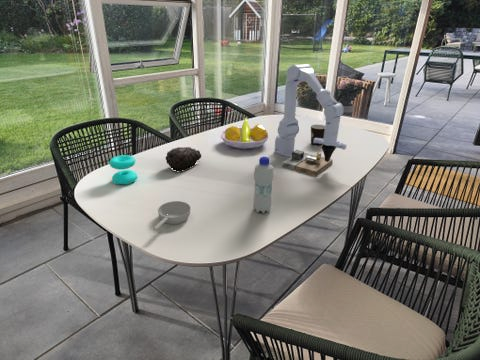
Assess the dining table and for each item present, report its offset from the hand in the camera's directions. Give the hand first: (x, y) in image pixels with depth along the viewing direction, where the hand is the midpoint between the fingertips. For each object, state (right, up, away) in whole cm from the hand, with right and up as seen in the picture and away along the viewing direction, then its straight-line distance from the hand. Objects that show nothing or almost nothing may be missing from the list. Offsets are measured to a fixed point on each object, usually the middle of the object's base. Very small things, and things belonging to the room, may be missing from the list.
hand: (327, 160), depth 146 cm
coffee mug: (+4, +12, +36) cm, 38 cm away
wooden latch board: (-7, -2, +7) cm, 10 cm away
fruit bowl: (-36, +11, +33) cm, 50 cm away
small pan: (-62, -23, -39) cm, 77 cm away
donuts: (-87, -9, -11) cm, 88 cm away
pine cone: (-65, -2, +4) cm, 65 cm away
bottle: (-32, -19, -31) cm, 48 cm away
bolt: (-5, 0, +5) cm, 7 cm away
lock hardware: (-9, +1, +7) cm, 12 cm away
